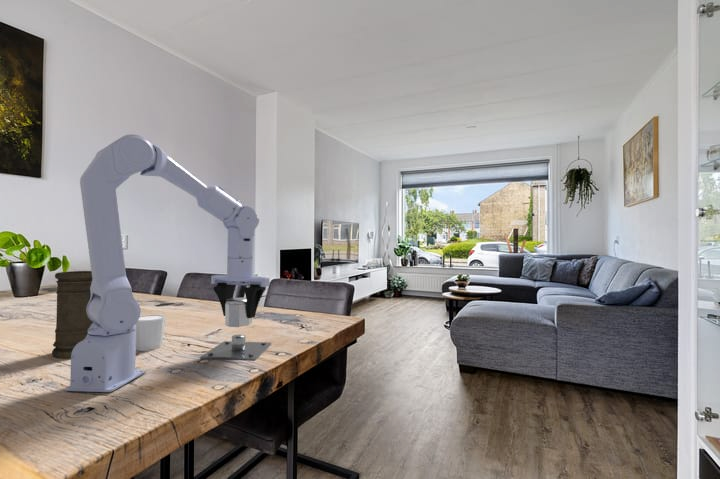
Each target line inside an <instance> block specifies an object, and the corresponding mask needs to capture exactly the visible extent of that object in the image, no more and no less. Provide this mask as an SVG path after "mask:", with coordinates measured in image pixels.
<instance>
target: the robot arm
mask: <svg viewBox="0 0 720 479" xmlns="http://www.w3.org/2000/svg"><path fill="white" fill-rule="evenodd" d="M138 173H140V176H144V177H147V176H148V177H158V178H159V177H161V178H162V179H164V180H166V181H167V182H169V183H170V184H172V185H174V186H175V187H177V188H179V189H181V190H182V191H184V192H186V193H187V194H189V195H191V196H192V197H194V198H195V199H196V202H197V205H198V207H199V208H200V209H202V210H204V211H205V212H207V213H208V214H210V215H212V216H213V217H214V218H216V219H218V220H219V221H220V222H222V223H223V226H224V227H225V229H227V249H226V250H227V260H226V261H227V263H226V264H227V265H226V275H224V274H223V275H219V274H218V275H215V274H214V275H211V276H210V278H211V279H210V283H211V285H216V286H213V291H214V292H215V294H216V296H217V298H218V301H219V303H220V306H221V309H222V314H223V317H225V303H226V300H227V299H231V298H234V293H235V289H236V286H247V287H243V290H244V295H245V298H246V300H247V318H252V319H253V318H254V317H256V314H257V309H258V306H259V303H260V300H261V298H262V296H264V295H263V294H264V293H265V291H266V287H267V288H268V287H270V283H271V282H270V281H271V280H270V277H263V276H254V236H255V231H256V229H257V227H258V226H259V223H260V218H258V215H257V212H256V211H255V210H254V208H252V207H251V206H248V205H247V206H246V205H244V206H243V205H242V201H241V200H239V199H235V198H234V197H232V196H231V195H229V194H228V193H227V192H225V188H224V187H222V185H221V186H220V185H219V186H217V185H215V184H212V185H206V184H205V183H204V182H202V181H201V180H200V179H198V178H197V177H195V176H194V175H193V174H192V173H191V172H190V171H188V170H187V169H185V168H184V167H183V166H182V165H180V164H179V163H177V161H175V160H174V159H172V158H171V157H170V156H169V155H168V154H167V153H166V152H165V151H164V150H163V149H162V148H161V147H159V146H158V145H155V144H152V142H150V141H149V140H148V139H147V138H145V137H144V136H141V135H139V134H133V133H131V134H126V135H123V136H121V137H119V138H118V139H116V140H114V141H113V142H111V143H110V144H107V146H105V147H104V148H102V149H100V150H99V151H98V152H96V154H95V156H94V158H93V159H92V160H91V162H90V163H89V164H88V166H87V168H86V169H85V170H84V172H83V173H82V174H81V176H80V179H79V186H80V187H79V188H80V193H81V200H82V209H83V217H84V224H85V232H86V233H85V234H86V239H87V247H88V254H89V263H90V271H91V272H92V283H91V287H90V292H91V297H90V300H89V302H88V305H87V308H86V312H87V315H88V317H89V319H90V320H91V321H93V323H92V324H91V326H90V327H89V329H88V334H87V336H86V338H85V339H84V340H83V341H81V342H79V343H78V344H77V345H76V346H75V347H74V348H73V350H72V354H71V358H70V382H69V383H70V384H69V386H67V387H65V389H64V391H65V392H87V393H89V392H90V393H91V392H92V393H94V392H95V393H112V392H114V391H115V390H117V389H119V388H120V387H122V386H125V385H126V384H128V383H129V382H131V381H133V380H136V379H137V378H138V377H140V376H142V375H144V374H146V373H147V369H139V368H137V369H136V355H137V354H136V351H137V350H136V325H135V324H136V323H137V321H138V320H139V317H141V313H142V312H141V306H140V304H139V303H138V301H137V300H136V299H135V297H134V294H133V290H132V285H131V283H130V282H129V279H128V277H127V273H126V264H125V257H124V246H123V240H122V232H121V224H120V223H121V221H120V215H119V206H118V197H117V189H118V188H119V187H120V186H121V185H122V184H124V182H126V181H127V180H128V179H129V178H130V177H131V176H133V175H136V174H138Z"/></svg>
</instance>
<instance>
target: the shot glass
mask: <svg viewBox="0 0 720 479" xmlns="http://www.w3.org/2000/svg"><path fill="white" fill-rule="evenodd" d="M165 324H166V316H165V315H157V314H156V315H155V314H152V315H143V316H140V317H139V320H138V321H137V323H136V324H135V325H136V351H139V352H142V351H143V352H145V351H146V352H147V351H152V350H157V349H159V348H162V347H163V342H164V341H163V340H164V332H165Z"/></svg>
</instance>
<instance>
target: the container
mask: <svg viewBox="0 0 720 479" xmlns="http://www.w3.org/2000/svg"><path fill="white" fill-rule="evenodd" d="M54 278H55V279H56V284H57V289H56V290H57V291H56V322H55V323H56V324H55V330H54V333H55V339H54V342H53V344H52V346H53V347H54V348H53V349H52V350H51V354H52V356H53V357H54V358H58V359H71V354H72V350H73V348H74V347H75V346H76V345H77V344H78V343H79V342H81V341H83V340H84V339H85V338H86V336H87V334H88V329H89V327H90V326H91V324H92V323H93V321H91V320H90V319H89V317H88V315H87V312H86V308H87V305H88V302H89V300H90V297H91V292H90V287H91V283H92V272H91V270H78V271H77V270H76V271H60V272H56V273H55V274H54Z"/></svg>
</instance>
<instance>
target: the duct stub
mask: <svg viewBox="0 0 720 479" xmlns="http://www.w3.org/2000/svg"><path fill="white" fill-rule="evenodd" d="M246 337H247V336H246V335H245V334H241V333H240V334H233V335H232V336H231V341H229V340H225V341H222V342H221V343H219V344H218V345H216V346H215V347H213V348H211V349H210V350H208V351H207V352H205V353H203V354H202V355H201V356H200V359H207V360H208V359H211V360H240V361H241V360H243V361H244V360H247V361H249V360H250V361H256V360H257V359H258V358H260V356H261V355H262V354H263V353H265V351H266V350H268V348H269V347H270V346H271V345H272V342H264V341H261V342H260V341H246Z"/></svg>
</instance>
